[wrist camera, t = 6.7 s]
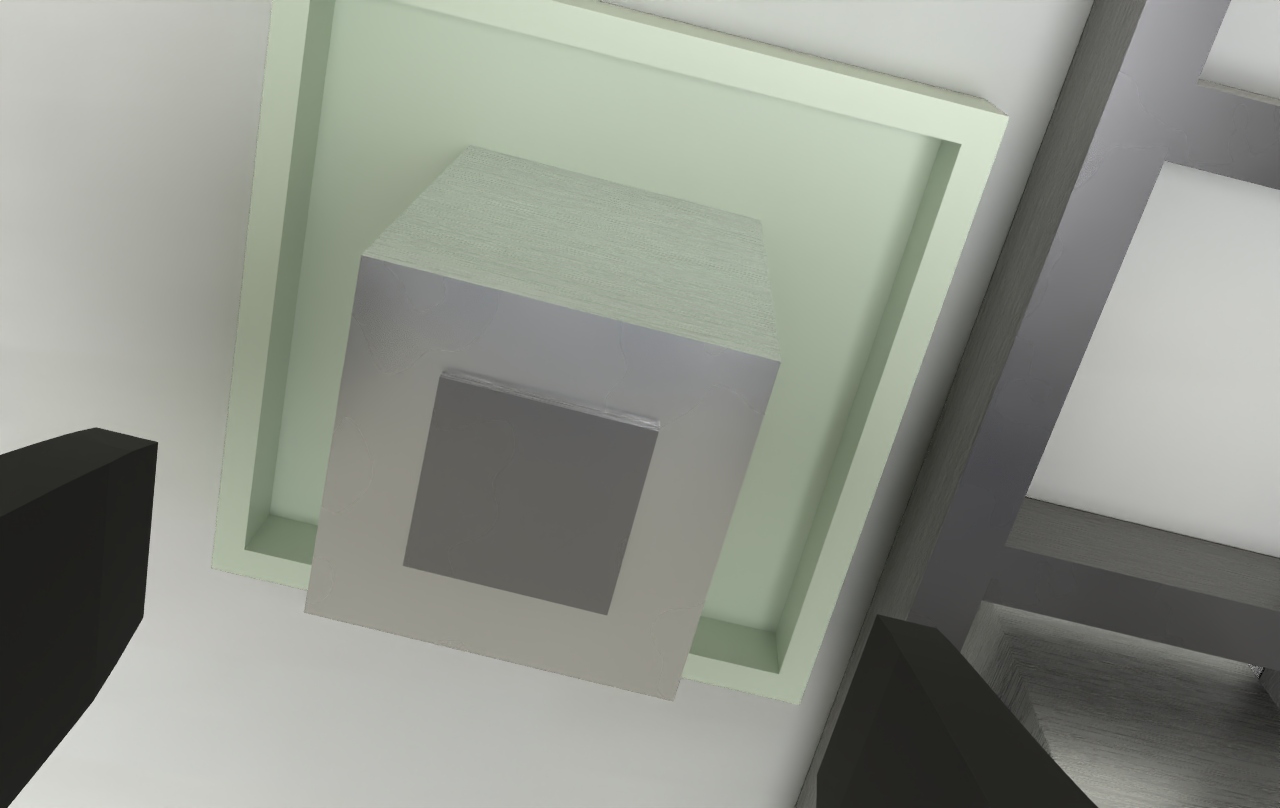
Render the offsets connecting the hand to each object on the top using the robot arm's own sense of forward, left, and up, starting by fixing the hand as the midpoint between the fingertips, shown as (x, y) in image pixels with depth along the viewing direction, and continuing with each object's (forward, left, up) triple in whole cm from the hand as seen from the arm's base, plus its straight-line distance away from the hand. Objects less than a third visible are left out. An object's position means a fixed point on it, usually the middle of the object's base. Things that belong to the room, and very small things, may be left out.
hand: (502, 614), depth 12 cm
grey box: (0, 0, -8) cm, 8 cm away
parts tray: (0, 0, -8) cm, 8 cm away
